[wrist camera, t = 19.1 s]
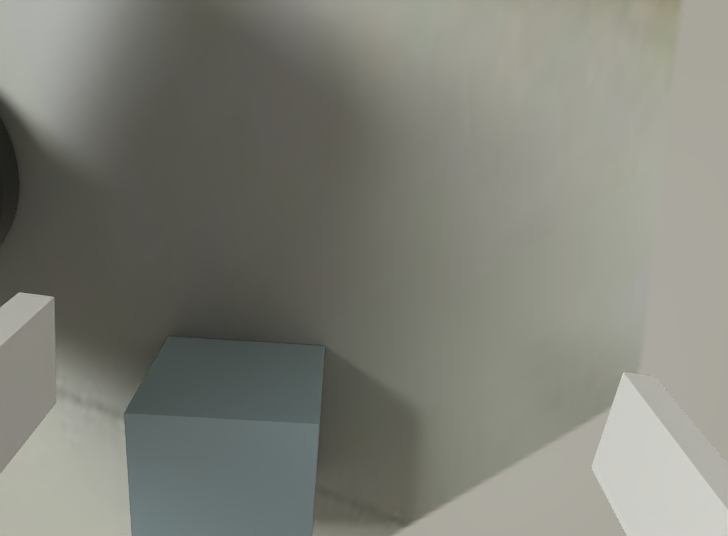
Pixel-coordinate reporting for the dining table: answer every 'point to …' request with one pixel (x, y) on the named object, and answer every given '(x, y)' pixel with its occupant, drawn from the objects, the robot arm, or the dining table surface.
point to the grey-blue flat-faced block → (225, 439)
